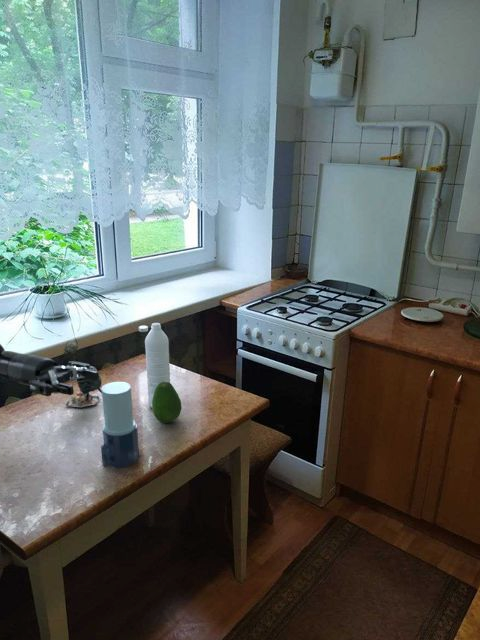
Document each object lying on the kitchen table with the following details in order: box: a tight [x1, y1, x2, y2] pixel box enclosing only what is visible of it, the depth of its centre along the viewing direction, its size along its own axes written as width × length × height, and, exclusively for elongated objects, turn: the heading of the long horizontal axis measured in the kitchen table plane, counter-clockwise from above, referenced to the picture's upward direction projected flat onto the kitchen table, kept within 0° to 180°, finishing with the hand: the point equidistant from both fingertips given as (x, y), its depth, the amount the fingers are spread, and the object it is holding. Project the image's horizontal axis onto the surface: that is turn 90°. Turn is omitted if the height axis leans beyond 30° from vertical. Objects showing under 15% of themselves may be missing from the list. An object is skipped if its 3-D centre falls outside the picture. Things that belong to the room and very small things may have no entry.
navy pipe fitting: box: [100, 424, 140, 469], centre depth 117 cm, size 11×8×8 cm
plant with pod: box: [62, 340, 102, 409], centre depth 141 cm, size 8×11×20 cm
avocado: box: [151, 382, 182, 424], centre depth 134 cm, size 8×8×12 cm
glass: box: [100, 381, 137, 436], centre depth 115 cm, size 7×7×10 cm
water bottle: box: [138, 322, 171, 408], centre depth 140 cm, size 9×6×25 cm
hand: (85, 383), depth 116 cm, fingers open, 8 cm apart
